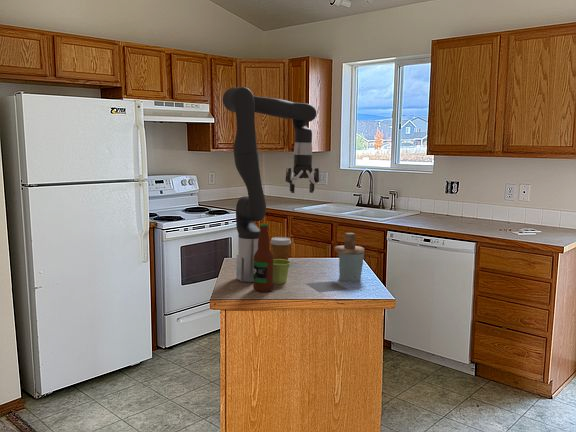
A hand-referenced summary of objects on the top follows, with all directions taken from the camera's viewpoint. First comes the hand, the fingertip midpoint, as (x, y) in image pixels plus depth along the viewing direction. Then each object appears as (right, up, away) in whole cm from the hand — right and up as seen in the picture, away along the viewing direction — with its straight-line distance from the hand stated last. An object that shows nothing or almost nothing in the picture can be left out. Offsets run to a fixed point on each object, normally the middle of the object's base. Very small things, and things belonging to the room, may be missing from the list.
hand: (302, 192), depth 218 cm
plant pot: (-10, -36, -13) cm, 40 cm away
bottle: (-15, -38, -23) cm, 46 cm away
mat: (+9, -37, -18) cm, 42 cm away
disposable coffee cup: (-9, -32, +17) cm, 38 cm away
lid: (+19, -24, -7) cm, 31 cm away
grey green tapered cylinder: (+19, -36, -6) cm, 41 cm away
